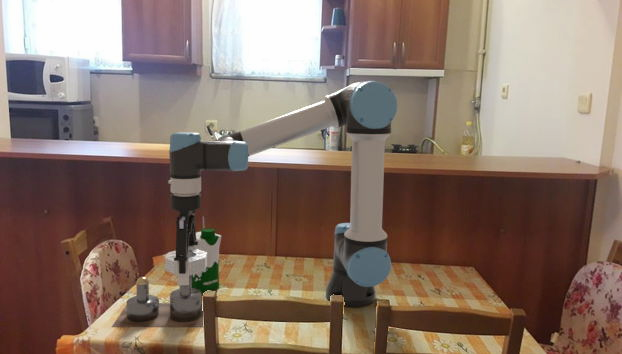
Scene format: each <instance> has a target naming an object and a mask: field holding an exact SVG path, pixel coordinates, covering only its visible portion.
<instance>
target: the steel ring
mask: <svg viewBox="0 0 622 354" xmlns="http://www.w3.org/2000/svg"><path fill="white" fill-rule="evenodd" d="M180 256H183V255H180ZM175 257H176V250H173V251H168V253H166V256H164V259H165V262H164V263H165V264H164V265H165V266H164V267H165V268H164V269H165V272H168V273H169V274H172V275H174V276H177V261H174V258H175ZM188 259H189V275H193V274H196V273H199V272H203V271H205V270H206V267H207V252H205V251H202V250H199V249H188Z"/></svg>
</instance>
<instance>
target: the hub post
mask: <svg viewBox="0 0 622 354" xmlns="http://www.w3.org/2000/svg"><path fill="white" fill-rule="evenodd" d="M149 283H150V281H149V279H148V278H147V277H146V276H141V277H138V278H137V280H136V284H135V285H136V295H134V296H132V297H130V298H128V299H127V300H126V305H127V319H128V320H130V321H132V322H147V321H150V320H153V319H155V318H157V317H158V315H159V303H160V299H159V297H158V296H156V295H153V294H150V284H149Z"/></svg>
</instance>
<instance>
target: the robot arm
mask: <svg viewBox="0 0 622 354" xmlns="http://www.w3.org/2000/svg"><path fill="white" fill-rule="evenodd" d="M397 112H398V101H397V97H396V94H395V92H394V91H393V90H392V88H391V87H389V86H388V85H387V84H386V83H383V82H381V81H377V80H365V81H357V82H354V83H351V84H349V85H348V86H346V87H344V88H342V89H339V90H338V91H336V92H334V93H331V94H329V95H325V97H324V99H323V100H322V101H320V102H316V103H314V104H311V105H309V106H305V107H303V108H301V109H297V110H294V111H292V112H289V113H286V114H284V115H280V116H278V117H275V118H272V119H270V120H267V121H264V122H262V123H259V124H256V125H254V126H253V125H252V126H251V127H247V128H245V129H242V130H240V131H237V132H234V133H230V134H225V135H222V136H220V137H219V138H218V139H216V140H202V136H201V133H199V132H194V131H192V132H191V131H178V132H173V133H172V134H171V135H170V136H169V137H170V138H169V150H168V151H169V172H170V173H169V177H170V180H169V179H168V181H167V183H168V184H169V185H170V192H171V193H172V194H170V209H172V210H173V211H177V212H179V214H178V216H177V217H176V221H175V224H176V225H175V226H176V234H175V235H176V237H175V251H176V257H175V258H174V261H177V275H176V276H177V283H176V284H177V286H180V285H189V259H188V249H195V246H193V245H198V241H196V233H197V231H196V230H197V229H196V211H197V210H199V209H201V207H202V195H201V191H202V176H201V174H202V173H201V172H202V171H222V172H223V171H226V172H228V171H229V172H239V171H247V170H248V168H249V157H251V156H254V155H256V154H259V153H262V152H265V151H268V150H270V149H273V148H276V147H278V146H281V145H284V144H287V143H290V142H292V141H295V140H298V139H301V138H303V137H306V136H309V135H311V134H314V133H317V132H320V131H323V130H325V129H329V128H331V127H333V128H335V129H339V128H341V127H344V126H346V127H345V128H346V129H345V131H346V135H347V136H348V137H349V138H350V140H351V170H350V171H351V172H350V209H349V210H350V212H349V213H350V217H349V218H350V219H349V222H342V223H338V224H337V225H336V226H335V229H334V233H333V236H334V242H333V243H334V244H333V245H334V246H333V263H332V264H333V265H332V272H331V275H330V278H329V280H328V283H327V285H326V289H325V297H326V299H327V300H328V301H330V296H331V295H333V294H334V295H342V296H343V297H344V302H345V306H344V307H348V306H350V307H349V308H359V307H360V308H361V307H366V306H369V305H372V304H373V303H374V302H375V301H376V289H375V287H376V286H378V285H380V284H382V283H383V282H385V280H387V279H388V277H389V275H390V273H391V271H392V261H391V257H390V255H389V253H388V252H387V251H388V234H387V232H386V231H385V230H384V229H383V211H384V210H383V209H384V208H383V205H384V179H385V178H384V176H385V175H384V174H385V173H384V172H385V146H386V144H385V143H386V140H387V139H388V138H389V136H390V135H392V121H394V118H395V117H396V114H397ZM180 255H183V256H180Z"/></svg>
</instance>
